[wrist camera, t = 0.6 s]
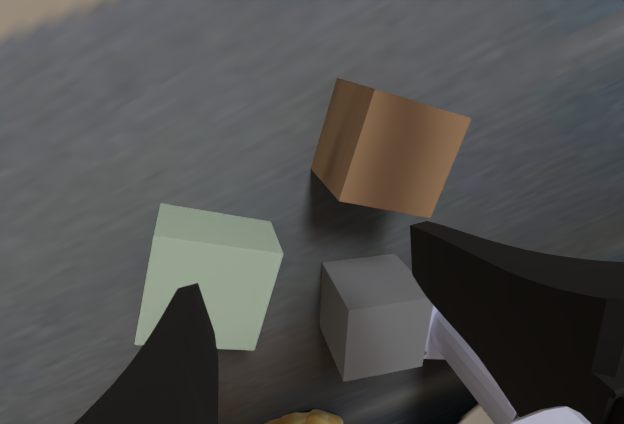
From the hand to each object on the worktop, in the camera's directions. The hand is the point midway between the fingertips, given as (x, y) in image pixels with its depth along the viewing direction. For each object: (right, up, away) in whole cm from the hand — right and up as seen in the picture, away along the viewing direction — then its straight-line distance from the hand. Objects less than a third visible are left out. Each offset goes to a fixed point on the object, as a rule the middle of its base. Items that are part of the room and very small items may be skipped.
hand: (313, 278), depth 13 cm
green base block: (-6, -1, +10) cm, 12 cm away
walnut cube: (+3, +6, +9) cm, 12 cm away
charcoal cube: (+3, -3, +13) cm, 14 cm away
